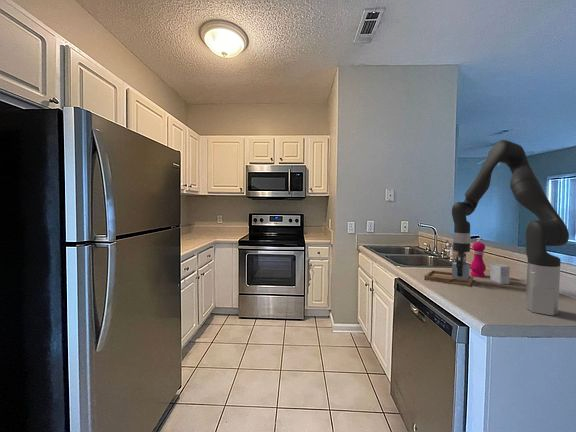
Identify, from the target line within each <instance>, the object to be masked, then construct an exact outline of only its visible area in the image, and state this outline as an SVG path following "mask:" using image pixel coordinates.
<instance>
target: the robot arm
mask: <svg viewBox="0 0 576 432" xmlns="http://www.w3.org/2000/svg"><path fill="white" fill-rule="evenodd" d="M526 155H527V154H526V152H525V150H524V148H523V147H522V146H521V145H520V144H518V143H515V142H513V141H510V140H506V139H502V140H499V141H497V142H495V144H494V145H493V146H492V148H491V149H490V151H489V152H488V155H487V156H486V159H485V160H484V161H483V164H482V165H481V168H480V170H479V172H478V174H477V175H476V177H475V179H474V180H473V182H471V184H470V185H469V187H468V188H467V190H466V191H465V193H464V197H465V199H463V201H458V202H455V203H453V205H452V208H451V216H452V221H453V225H454V226H453V238H452V239H453V240H452V250H453V252H457V254H455V255H456V256H455V258H456V268H457V276H460V277H462V274H463V265H464V263H466V261H467V254H466V253H469V252H471V223H470V222H469V221H468V220H467V217H468V216H470V215H472V214H473V213H474V212H475V210H476V208H477V206H478V204H479V202H480V200H481V199H482V198H483V196H484V195H485V194H486V193H487V191H488V190H489V188H490V186H491V181H492V174H493V171H494V169H495V167H496V166H497V165H498V164H499V163H502V164H504V165H506V166H507V167H508V169H509V170H510V173H511V174H512V175H511V179H510V183H509V187H510V190H511V192H512V195H513V196H514V198H515V200H516V201H517V203H519V204H520V205H521V206H522V207H524V208H525V209H527V210H528V211H529V212H531V213H532V214H533V215H534V216H536V217H537V219H538V220H532V221H530V222H529V223H528V224H527V225H526V229H525V254H526V255H525V256H526V258H527V268H526V290H525V291H526V292H525V309H527V310H528V311H530V312H532V313H535V314H540V315H541V314H542V315H546V316H547V315H548V316H553V317H554V316H556V315H558V314H559V306H560V305H559V303H560V302H559V301H560V284H561V283H560V279H561V277H560V276H561V264H562V263H561V258H560V257H559V256H555V255H553V254H551V253H549V252H547V247H560V246H561V247H562V246H564V245H566V244H567V243H568V242H569V239H570V232H569V229H568V227H567V225H566V224H565V222H564V221H563V218H561V216H560V215H559V213H558V212H557V211H556V209H555V208H554V207H553V205H552V204H551V201H550V200H549V199H548V196H547V195H546V194H545V191H544V190H543V186H542V185H541V183H540V182H539V179H538V178H537V177H536V175H535V172H534V171H533V169H532V167H531V165H530V164H529V161H528V157H527V156H526ZM459 264H461V266H459ZM466 264H467V263H466Z"/></svg>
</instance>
